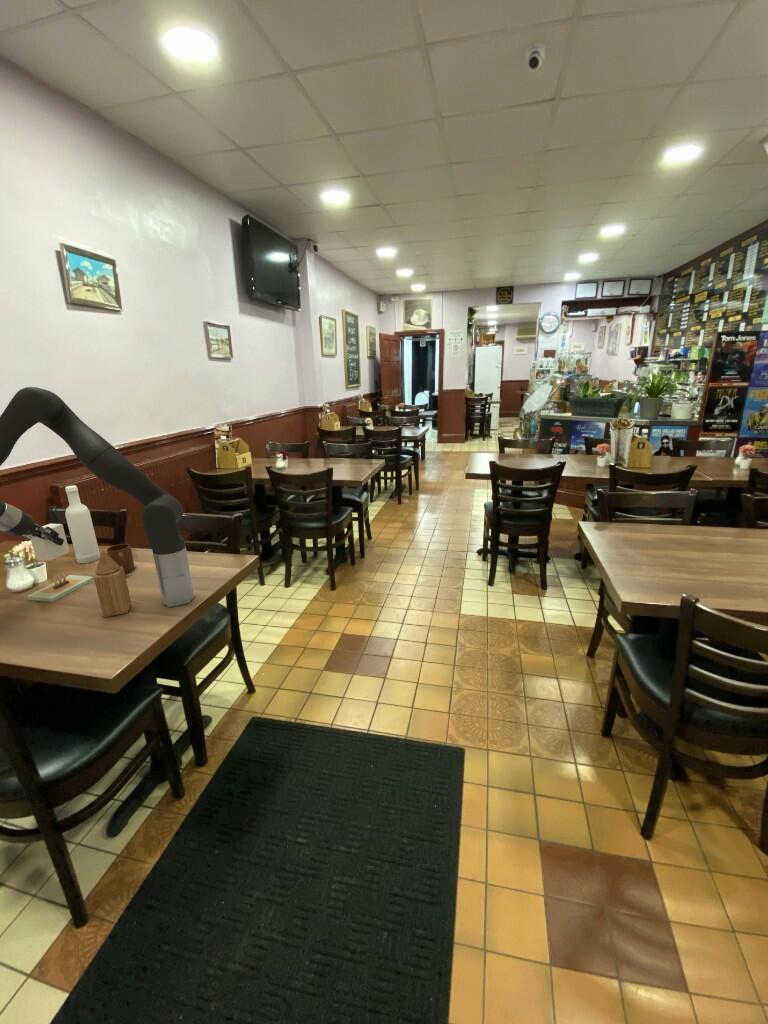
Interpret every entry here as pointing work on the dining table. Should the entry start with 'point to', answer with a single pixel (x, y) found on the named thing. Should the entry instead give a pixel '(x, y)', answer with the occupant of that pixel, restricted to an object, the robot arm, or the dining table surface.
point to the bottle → (81, 528)
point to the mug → (122, 556)
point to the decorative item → (111, 587)
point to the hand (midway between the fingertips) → (55, 542)
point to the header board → (60, 587)
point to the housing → (50, 545)
